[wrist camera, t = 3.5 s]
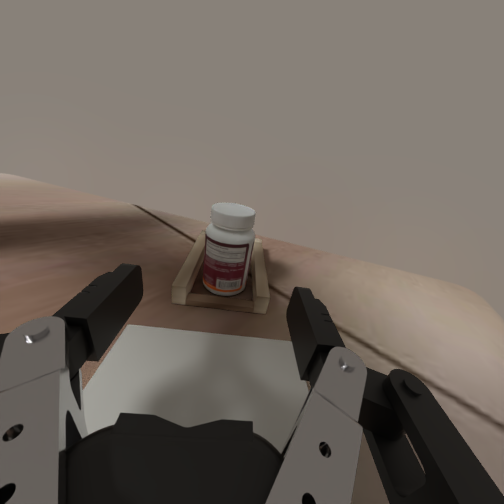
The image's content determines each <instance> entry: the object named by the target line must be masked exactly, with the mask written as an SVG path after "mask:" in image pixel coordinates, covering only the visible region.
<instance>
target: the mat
mask: <svg viewBox="0 0 504 504" xmlns="http://www.w3.org/2000/svg"><path fill="white" fill-rule="evenodd" d="M308 392H309V391H308V387H307V383H306V381H304V380H300V376H299V371H298V367H297V362H296V358H295V354H294V349H293V345H292V341H284V340H275V339H265V338H255V337H246V336H236V335H226V334H217V333H207V332H197V331H187V330H178V329H168V328H158V327H149V326H139V325H129V324H128V325H127V327H126V328H125V330H124V331H123V333H122V334H121V335H120V337H119V338H118V340H117V341H116V343H115V344H114V346H113V347H112V349H111V350H110V352H109V353H108V355H107V356H106V357H105V359H104V360H103V362H102V363H101V365H100V366H99V368H98V369H97V371H96V372H95V374H94V375H93V377H92V378H91V380H90V381H89V382H88V384H87V385H86V387H85V388H84V390H83V403H84V416H85V422H86V427H87V432H88V435H89V434H91V433H93V432H95V431H97V430H99V429H102V428H105V427H107V426H110V425H114V424H115V423H116V421H117V419H118V417H119V415H120V413H135V414H150V415H156V416H159V417H161V418H163V419H166V420H168V421H171V422H173V423H175V424H178V425H180V426H183V427H192V426H196V425H200V424H205V423H209V422H213V421H217V420H221V419H226V420H241V421H253V432H254V433H256V434H258V435H260V436H262V437H263V438H265V439H266V440H268V441H269V442H270V443H271V444H272V445H273V446H274V447H275V448H276V449H277V450H278V451H279V452H280V453H281V451H282V449H283V446H284V444H285V442H286V440H287V438H288V436H289V434H290V432H291V430H292V428H293V426H294V423H295V421H296V419H297V417H298V414H299V412H300V410H301V408H302V406H303V403H304V401H305V399H306V397H307V395H308Z"/></svg>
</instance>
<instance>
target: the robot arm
mask: <svg viewBox="0 0 504 504" xmlns="http://www.w3.org/2000/svg"><path fill="white" fill-rule="evenodd" d="M142 296H143V282H142V271H141V267H140V266H139V265H131V264H124V263H123V264H121V265H120V266H119V267H118V268H116V269H115V270H114V271H113V272H108V273H106V274H103V275H101V276H99V277H97V278H96V279H95V280H94V281H92V282H91V283H90V284H89V286H87V287H85V288H84V289H83V290H82V292H80V293H78V294H77V295H76V296H75V297H74V298H73V299H71V300H70V301H69V302H68V303H67V304H66V305H64V306H63V307H62V308H61V309H60V310H58V311H57V312H56V313H55V314H54V315H53V316H49V317H42V318H37V319H34V320H31V321H28V322H26V323H24V324H22V325H20V326H19V327H17V328H16V329H14V330H13V331H12V332H11V333H6V334H0V504H351V499H352V493H353V487H354V481H355V475H356V469H357V463H358V457H359V451H360V445H361V439H362V432H364V434H365V437H366V440H367V443H368V445H369V448H370V451H371V454H372V456H373V459H374V462H375V465H376V467H377V470H378V473H379V476H380V478H381V481H382V484H383V487H384V489H385V492H386V495H387V498H388V500H389V503H390V504H504V496H503V494H502V493H501V492H500V490H499V489H498V487H497V486H496V484H495V483H494V482H493V480H492V479H491V477H490V476H489V475H488V473H487V472H486V470H485V469H484V467H483V466H482V465H481V463H480V462H479V460H478V459H477V457H476V456H475V455H474V453H473V452H472V450H471V449H470V447H469V446H468V445H467V443H466V442H465V440H464V439H463V437H462V436H461V435H460V433H459V432H458V430H457V429H456V428H455V426H454V425H453V423H452V422H451V420H450V419H449V418H448V416H447V415H446V413H445V412H444V410H443V409H442V408H441V406H440V405H439V403H438V402H437V400H436V399H435V398H434V396H433V395H432V393H431V392H430V391H429V389H428V388H427V387H426V386H425V385H424V383H422V382H421V381H420V380H419V379H418V378H417V377H415V376H414V375H412V374H411V373H409V372H407V371H404V370H401V369H394V370H392V371H391V372H390V373H389V375H388V376H387V375H385V374H382V373H380V372H377V371H375V370H372V369H369V368H367V367H366V366H365V364H364V363H363V361H362V360H361V359H360V357H359V356H358V355H356V354H355V353H354V352H352V351H351V350H349V349H347V348H346V347H345V345H344V343H343V341H342V339H341V337H340V335H339V333H338V331H337V329H336V327H335V325H334V323H333V321H332V319H331V317H330V316H329V312H328V310H327V308H326V306H325V305H324V304H323V303H322V302H321V301H320V300H319V299H314V296H313V294H312V292H311V290H310V289H309V288H302V287H295V288H294V290H293V293H292V296H291V299H290V302H289V305H288V308H287V323H288V327H289V332H290V336H291V340H292V345H293V349H294V354H295V358H296V362H297V367H298V371H299V376H300V380H304V381H309V382H310V385H311V388H310V390H309V392H308V395H307V397H306V399H305V401H304V403H303V406H302V408H301V410H300V412H299V414H298V417H297V419H296V421H295V423H294V426H293V428H292V430H291V432H290V434H289V436H288V438H287V440H286V442H285V444H284V446H283V449H282V451H281V453H280V452H279V451H278V450H277V449H276V448H275V447H274V446H273V445H272V444H271V443H270V442H269V441H268V440H266V439H265V438H263V437H262V436H260V435H258V434H256V433H254V432H253V421H241V420H226V419H221V420H217V421H213V422H209V423H205V424H200V425H196V426H192V427H183V426H180V425H178V424H175V423H173V422H171V421H168V420H166V419H163V418H161V417H159V416H156V415H150V414H135V413H120V415H119V417H118V419H117V421H116V423H115V424H114V425H110V426H107V427H105V428H102V429H99V430H97V431H95V432H93V433H91V434H89V435H88V432H87V427H86V422H85V416H84V403H83V388H82V374H81V369H80V368H81V367H82V365H83V364H84V363H85V361H86V360H87V361H99V360H100V358H101V357H102V355H103V354H104V353H105V351H106V350H107V348H108V347H109V345H110V344H111V343H112V341H113V340H114V338H115V337H116V335H117V334H118V333H119V331H120V330H121V328H122V327H123V326H124V324H125V323H126V321H127V320H128V318H129V317H130V316H131V314H132V313H133V311H134V310H135V308H136V307H137V306H138V304H139V303H140V301H141V299H142ZM406 433H407V435H408V437H409V439H410V441H411V443H412V445H413V447H414V449H415V451H416V453H417V455H418V457H419V459H420V461H421V463H422V465H423V467H424V471H425V473H424V471H423V470H422V468H421V466H420V464H419V462H418V460H417V458H416V456H415V454H414V452H413V450H412V448H411V446H410V444H409V442H408V440H407V438H406V436H405V434H406Z"/></svg>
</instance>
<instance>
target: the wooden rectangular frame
mask: <svg viewBox="0 0 504 504" xmlns="http://www.w3.org/2000/svg"><path fill="white" fill-rule="evenodd" d="M205 234H206V231H203V230H202V232H201V233H200V235H199V237H198V239H197V241H196V242H195V244H194V246H193V248H192V250H191V251H190V253H189V255H188V257H187V259H186V260H185V262H184V264H183V266H182V268H181V269H180V271H179V273H178V275H177V277H176V278H175V280H174V282H173V284H172V303H173V304H181V305H190V306H199V307H207V308H216V309H225V310H233V311H242V312H251V313H260V314H266V311H267V307H268V304H269V300H270V293H269V287H268V280H267V274H266V267H265V261H264V254H263V248H262V241H261V239H256V238H255V242H254V246H253V251H252V256H251V268H252V296H253V300H245V299H237V298H228V297H220V296H212V295H204V294H195V293H190V292H191V289H192V287H193V284H194V282H195V279H196V277H197V274H198V272H199V269H200V267H201V264H202V262H203V259H204V252H205Z"/></svg>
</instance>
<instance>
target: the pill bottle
mask: <svg viewBox="0 0 504 504" xmlns="http://www.w3.org/2000/svg"><path fill="white" fill-rule="evenodd" d="M254 220H255V211H254V210H253V209H251V208H250V207H247V206H244V205H240V204H235V203H216V204H214V205H213V206H212V209H211V222H212V223H211V224H209V225H208V227H207V229H206V234H205V252H204V267H203V284H204V286H205V288H206V289H207V290H209V291H210V292H212V293H213V294H216V295H220V296H232V295H236V294H238V293H240V292H242V291H243V290H244V289H245V286H246V282H247V278H248V272H249V267H250V262H251V256H252V251H253V246H254V242H255V233H254V231H253V230H252V228H253V225H254Z"/></svg>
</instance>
